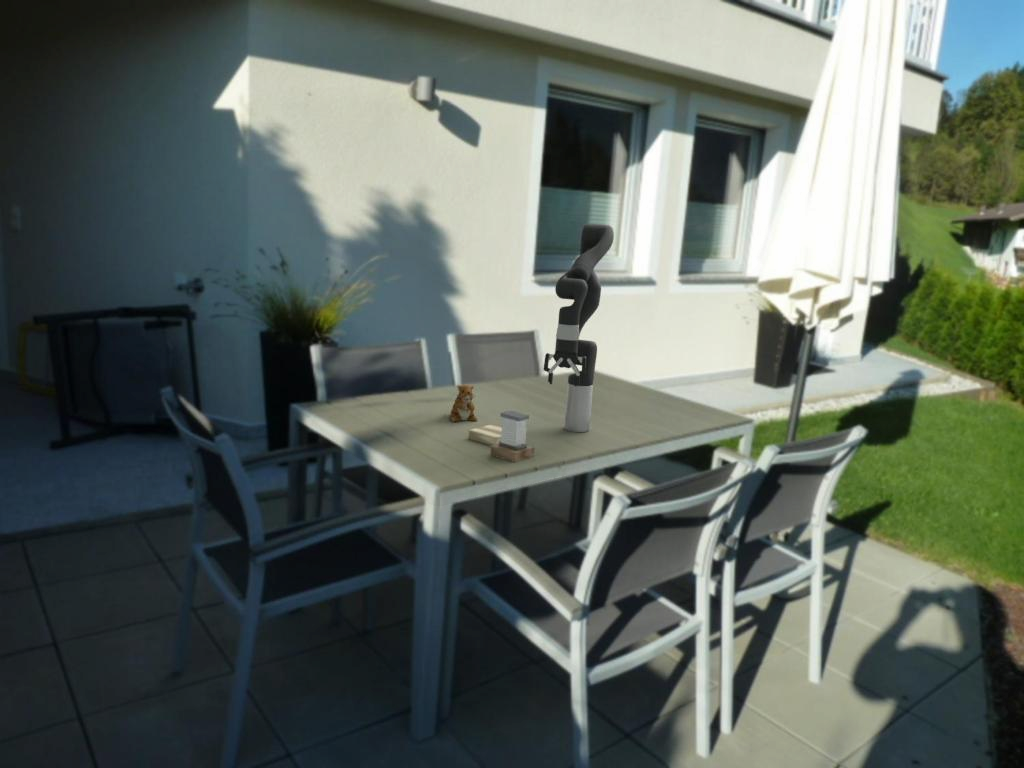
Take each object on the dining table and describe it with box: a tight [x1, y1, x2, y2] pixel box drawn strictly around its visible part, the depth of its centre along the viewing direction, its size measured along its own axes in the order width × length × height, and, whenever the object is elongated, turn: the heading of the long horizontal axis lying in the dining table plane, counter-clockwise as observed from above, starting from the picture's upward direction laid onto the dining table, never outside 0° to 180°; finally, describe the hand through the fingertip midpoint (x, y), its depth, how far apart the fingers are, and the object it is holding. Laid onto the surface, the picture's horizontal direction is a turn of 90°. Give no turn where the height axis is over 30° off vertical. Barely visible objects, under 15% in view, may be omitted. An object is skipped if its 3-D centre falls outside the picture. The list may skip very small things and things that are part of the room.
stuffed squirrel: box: [450, 384, 478, 423], centre depth 285 cm, size 10×14×13 cm
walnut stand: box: [490, 444, 536, 463], centre depth 244 cm, size 10×10×3 cm
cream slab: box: [468, 423, 502, 446], centre depth 261 cm, size 12×12×3 cm
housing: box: [499, 410, 530, 451], centre depth 242 cm, size 5×8×11 cm, turn 51°
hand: (563, 385), depth 258 cm, fingers open, 8 cm apart
